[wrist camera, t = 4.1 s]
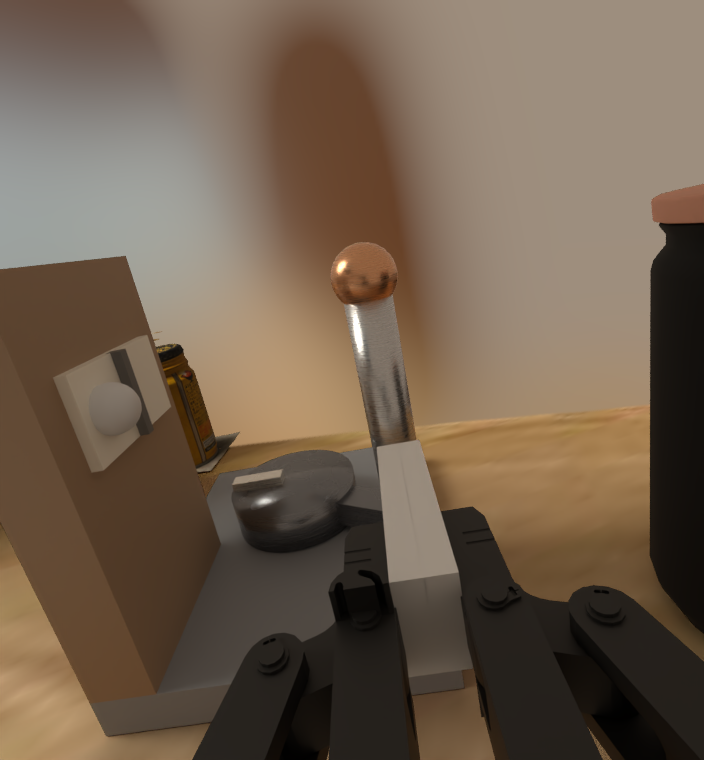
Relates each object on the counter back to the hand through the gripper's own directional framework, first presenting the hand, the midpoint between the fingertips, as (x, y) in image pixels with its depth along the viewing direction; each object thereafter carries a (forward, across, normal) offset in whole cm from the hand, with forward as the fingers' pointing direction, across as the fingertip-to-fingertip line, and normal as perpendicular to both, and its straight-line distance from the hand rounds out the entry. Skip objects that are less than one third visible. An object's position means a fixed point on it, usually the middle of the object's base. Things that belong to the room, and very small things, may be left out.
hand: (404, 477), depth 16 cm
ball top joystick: (+11, -5, -8) cm, 15 cm away
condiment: (+30, -21, -11) cm, 38 cm away
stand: (+10, -7, -10) cm, 16 cm away
